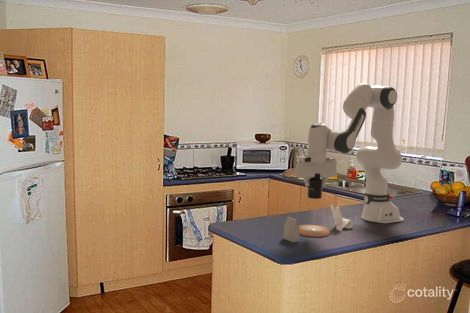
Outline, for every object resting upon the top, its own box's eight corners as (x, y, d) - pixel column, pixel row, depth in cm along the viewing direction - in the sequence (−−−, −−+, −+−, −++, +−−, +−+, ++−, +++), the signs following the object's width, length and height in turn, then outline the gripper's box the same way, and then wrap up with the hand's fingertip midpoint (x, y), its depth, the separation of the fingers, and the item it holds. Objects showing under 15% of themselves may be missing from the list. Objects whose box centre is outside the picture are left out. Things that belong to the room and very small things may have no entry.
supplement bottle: (307, 198, 235) (308, 173, 234) (307, 196, 241) (308, 171, 240) (322, 199, 234) (323, 174, 233) (321, 197, 240) (322, 172, 239)
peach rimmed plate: (321, 226, 250) (321, 223, 250) (335, 236, 235) (335, 232, 234) (291, 228, 246) (291, 225, 246) (303, 237, 230) (303, 234, 230)
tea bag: (292, 242, 223) (293, 220, 222) (283, 238, 228) (284, 217, 227) (299, 241, 225) (300, 219, 224) (289, 237, 231) (290, 216, 229)
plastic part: (352, 227, 251) (353, 205, 249) (341, 231, 244) (342, 208, 242) (339, 224, 256) (341, 202, 254) (328, 227, 249) (329, 205, 247)
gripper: (333, 156, 241) (332, 184, 243) (294, 157, 236) (293, 185, 238) (339, 158, 235) (338, 187, 237) (299, 158, 230) (298, 188, 232)
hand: (315, 186), depth 237 cm, fingers closed on supplement bottle, 7 cm apart
